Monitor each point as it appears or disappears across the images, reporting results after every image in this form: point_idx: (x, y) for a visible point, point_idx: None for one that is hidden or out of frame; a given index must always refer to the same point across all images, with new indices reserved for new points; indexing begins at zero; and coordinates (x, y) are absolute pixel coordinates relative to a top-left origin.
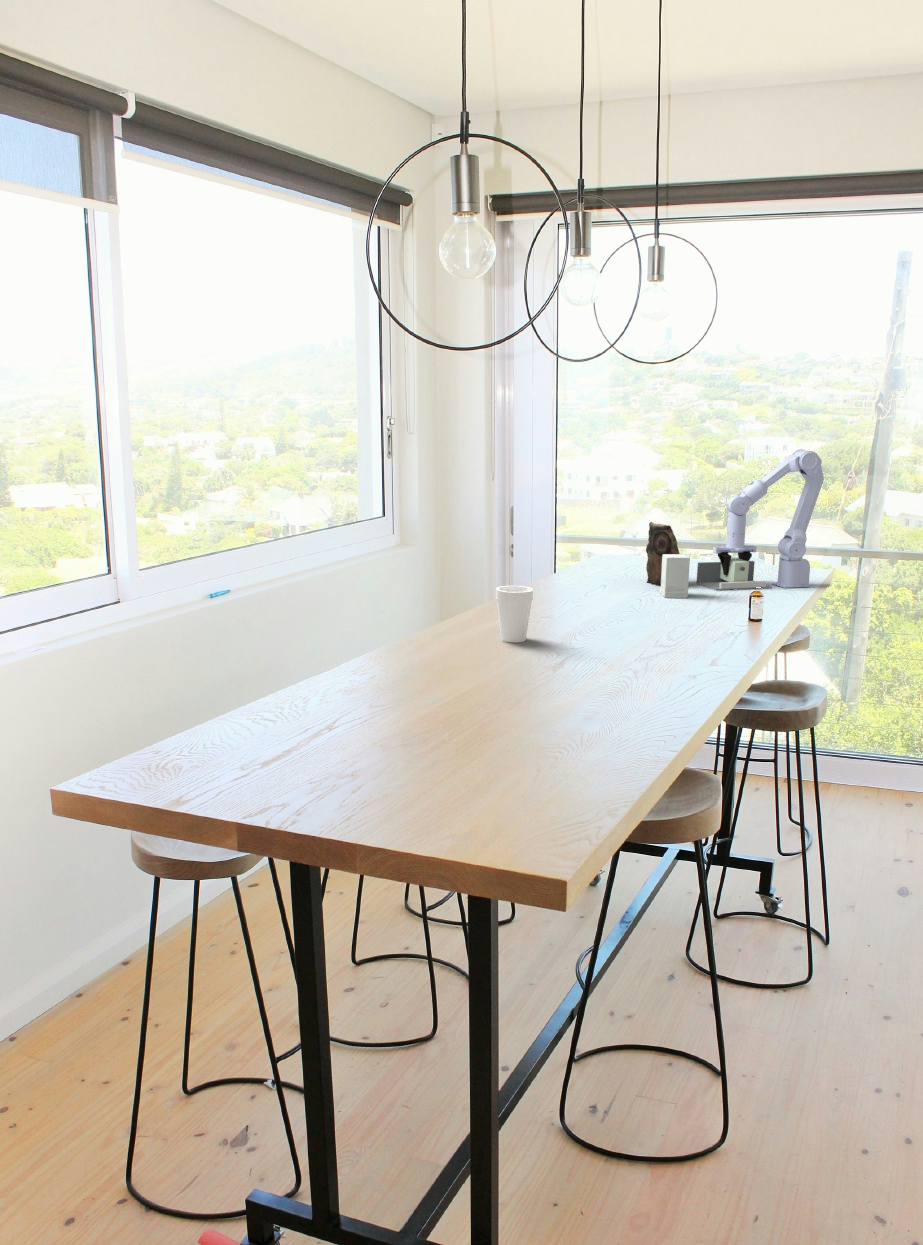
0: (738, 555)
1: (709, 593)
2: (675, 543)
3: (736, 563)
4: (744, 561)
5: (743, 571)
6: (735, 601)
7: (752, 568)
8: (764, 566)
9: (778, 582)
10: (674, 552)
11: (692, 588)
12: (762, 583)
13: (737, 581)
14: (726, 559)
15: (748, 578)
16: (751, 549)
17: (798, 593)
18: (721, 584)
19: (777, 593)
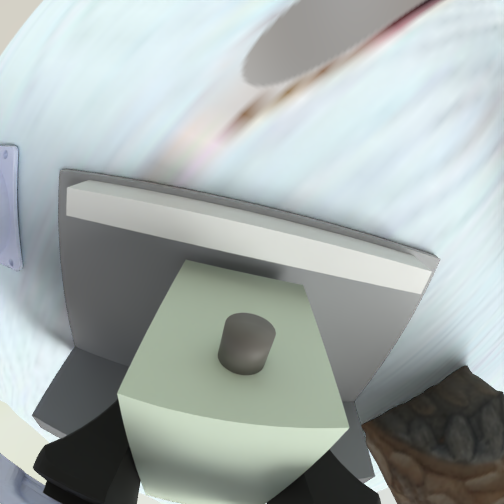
0: (136, 499)
1: (494, 215)
2: (496, 502)
3: (327, 417)
4: (164, 433)
5: (215, 328)
6: (499, 32)
7: (55, 391)
8: (17, 414)
9: (4, 224)
10: (495, 471)
11: (449, 335)
12: (98, 188)
13: (272, 286)
14: (350, 482)
15: (92, 362)
16: (27, 495)
17: (59, 10)
18: (426, 267)
19: (149, 14)
